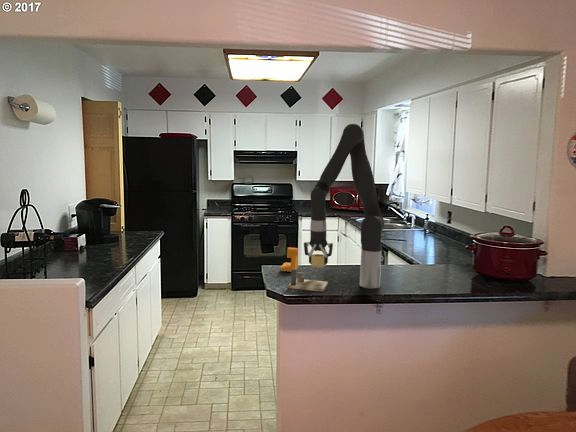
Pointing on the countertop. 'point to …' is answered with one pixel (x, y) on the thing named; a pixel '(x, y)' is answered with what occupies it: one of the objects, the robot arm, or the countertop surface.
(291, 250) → the bracket
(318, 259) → the brass collar
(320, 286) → the maple board
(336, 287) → the countertop surface
